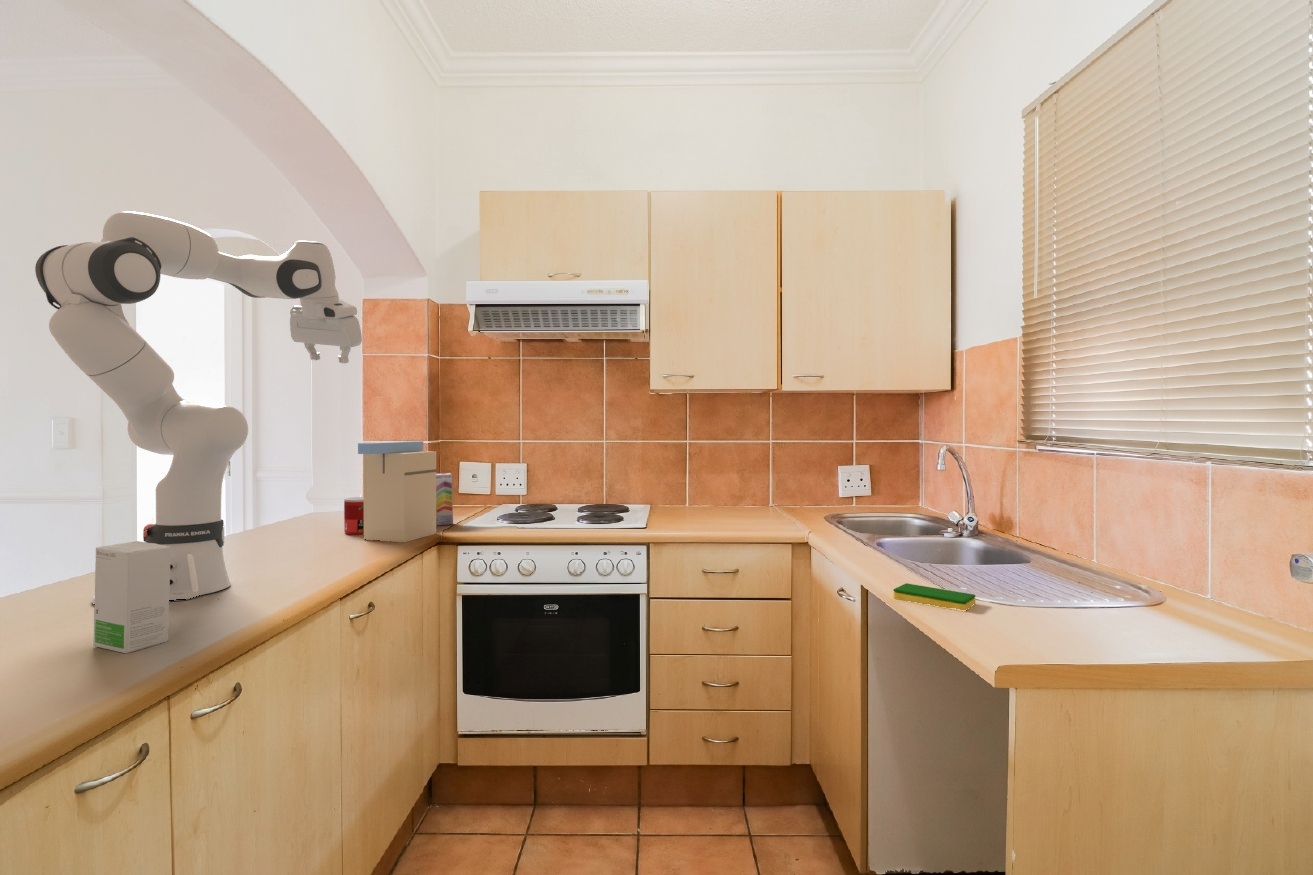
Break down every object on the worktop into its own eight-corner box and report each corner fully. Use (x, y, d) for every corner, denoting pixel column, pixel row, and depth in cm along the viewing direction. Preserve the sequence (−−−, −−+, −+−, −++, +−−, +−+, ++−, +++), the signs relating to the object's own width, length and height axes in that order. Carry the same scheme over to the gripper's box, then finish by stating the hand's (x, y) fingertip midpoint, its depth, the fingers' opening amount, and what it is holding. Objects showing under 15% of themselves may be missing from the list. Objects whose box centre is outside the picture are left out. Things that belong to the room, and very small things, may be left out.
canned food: (361, 535, 203) (361, 500, 203) (338, 534, 204) (338, 499, 204) (376, 531, 210) (376, 497, 210) (354, 530, 212) (354, 496, 212)
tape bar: (370, 454, 184) (370, 443, 184) (358, 453, 185) (357, 443, 185) (423, 450, 209) (423, 441, 209) (412, 450, 210) (412, 441, 210)
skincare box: (92, 647, 102) (91, 547, 101) (139, 634, 108) (138, 540, 108) (127, 654, 99) (126, 551, 98) (173, 640, 105) (172, 543, 105)
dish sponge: (965, 614, 124) (965, 601, 124) (892, 600, 133) (892, 588, 133) (975, 606, 130) (976, 594, 129) (905, 594, 139) (905, 582, 139)
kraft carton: (404, 542, 192) (404, 453, 191) (363, 539, 195) (363, 452, 195) (436, 533, 207) (436, 451, 207) (397, 531, 211) (397, 450, 210)
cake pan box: (392, 528, 217) (392, 475, 217) (393, 526, 222) (392, 474, 222) (453, 525, 224) (453, 473, 224) (452, 523, 229) (452, 472, 229)
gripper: (279, 307, 166) (289, 360, 171) (342, 311, 160) (351, 367, 164) (299, 303, 172) (308, 355, 176) (361, 308, 165) (369, 362, 170)
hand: (329, 361), depth 170 cm, fingers open, 8 cm apart
